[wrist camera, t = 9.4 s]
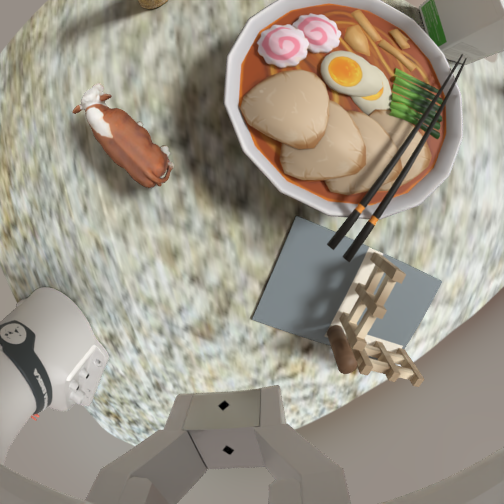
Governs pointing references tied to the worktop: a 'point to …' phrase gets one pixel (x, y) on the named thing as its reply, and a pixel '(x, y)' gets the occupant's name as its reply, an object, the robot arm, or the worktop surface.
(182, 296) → the worktop surface
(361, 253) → the card
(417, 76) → the ramen bowl
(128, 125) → the bull figurine
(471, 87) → the worktop surface
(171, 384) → the worktop surface
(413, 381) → the fixed fence panel
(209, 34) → the worktop surface
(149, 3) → the spice jar
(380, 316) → the gate panel
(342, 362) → the corner post
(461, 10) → the skincare box
